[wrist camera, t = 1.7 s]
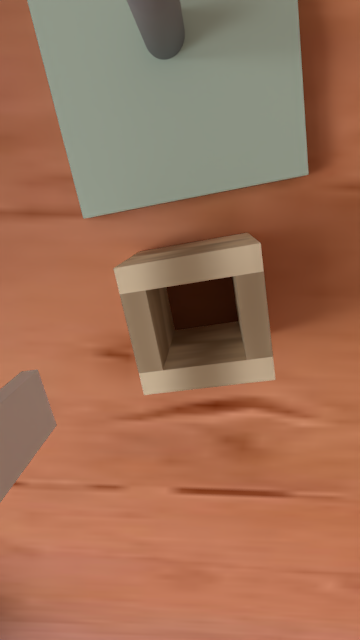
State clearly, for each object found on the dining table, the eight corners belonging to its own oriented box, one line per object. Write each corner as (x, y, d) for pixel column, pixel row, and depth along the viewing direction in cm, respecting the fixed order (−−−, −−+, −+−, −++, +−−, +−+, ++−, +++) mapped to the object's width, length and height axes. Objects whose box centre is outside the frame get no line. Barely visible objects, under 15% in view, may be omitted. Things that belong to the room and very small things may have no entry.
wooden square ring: (160, 349, 28) (144, 394, 21) (139, 251, 25) (113, 268, 19) (259, 336, 27) (275, 379, 20) (247, 232, 24) (260, 243, 18)
